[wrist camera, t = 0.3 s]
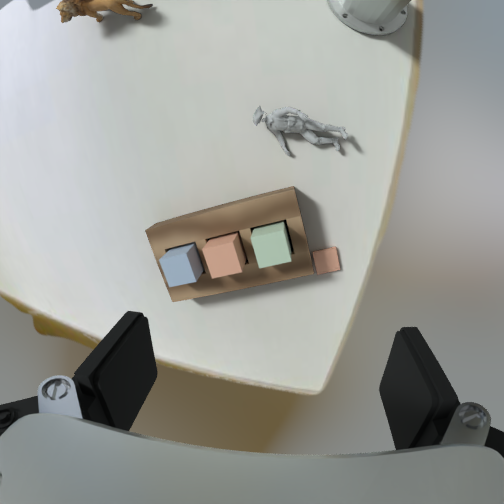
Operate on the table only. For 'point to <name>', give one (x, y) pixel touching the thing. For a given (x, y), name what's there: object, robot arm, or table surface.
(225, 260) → the salmon pink rectangular block
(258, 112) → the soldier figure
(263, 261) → the mint green block
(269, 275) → the board
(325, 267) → the tile
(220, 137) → the table surface
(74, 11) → the lion figurine
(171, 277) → the light blue block
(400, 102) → the table surface
